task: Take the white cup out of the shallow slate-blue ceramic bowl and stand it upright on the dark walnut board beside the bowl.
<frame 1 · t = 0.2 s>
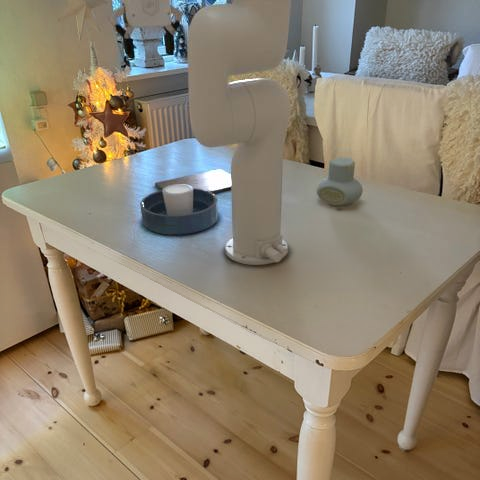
hand: (150, 56, 113), 31 cm above the table, tool pointing down, fingers open, 9 cm apart
bowl: (180, 219, 113), on the table
board: (200, 186, 131), on the table
air freshener: (338, 202, 120), on the table
white cup: (180, 219, 113), resting on bowl
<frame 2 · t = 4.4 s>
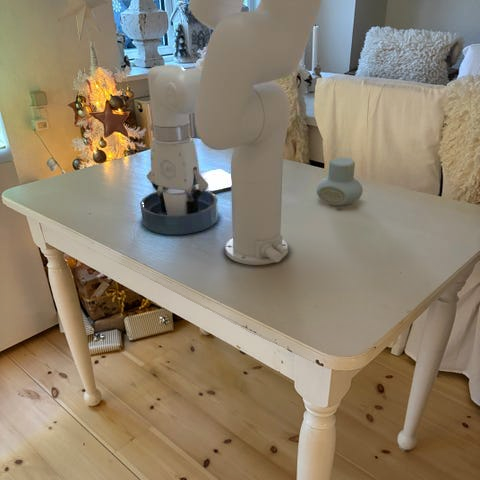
hand: (179, 212, 112), 2 cm above the table, tool pointing down, fingers closed on white cup, 6 cm apart
white cup: (180, 219, 113), resting on bowl, touching gripper
everything else where it was.
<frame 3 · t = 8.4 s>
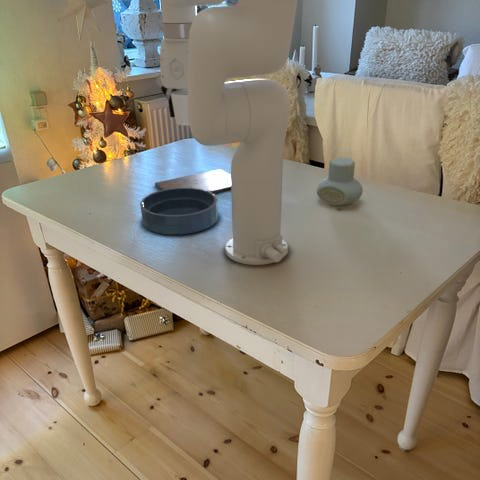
hand: (187, 116, 119), 18 cm above the table, tool pointing down, fingers closed on white cup, 6 cm apart
white cup: (187, 123, 119), point 17 cm above the table, touching gripper
everything else where it was.
when the fingers open (2 cm above the table, at t = 12.4 s): white cup stays where it is, resting on board.
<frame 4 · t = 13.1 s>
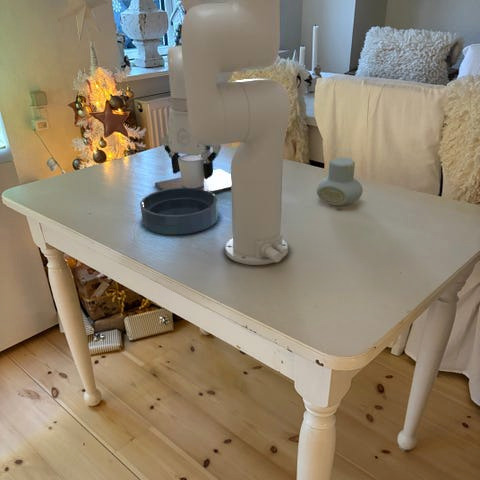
hand: (192, 174, 128), 4 cm above the table, tool pointing down, fingers open, 9 cm apart
white cup: (193, 185, 130), point 1 cm above the table, touching board
everything else where it was.
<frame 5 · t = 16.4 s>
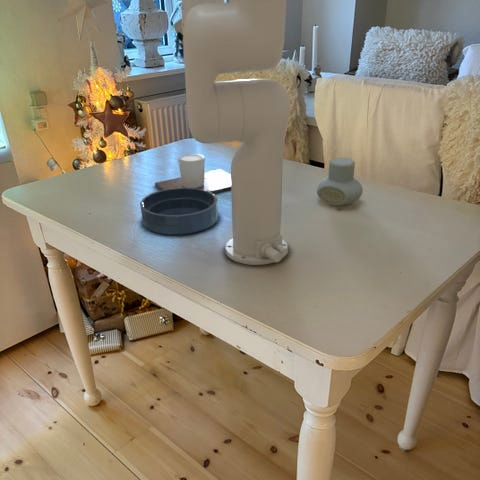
hand: (206, 64, 120), 28 cm above the table, tool pointing down, fingers open, 9 cm apart
nothing on the table moved.
at the end: white cup inside the target area on the board (2.0 cm from its centre), point 0.8 cm above the board's base; white cup tilted 0°; white cup touching board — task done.
